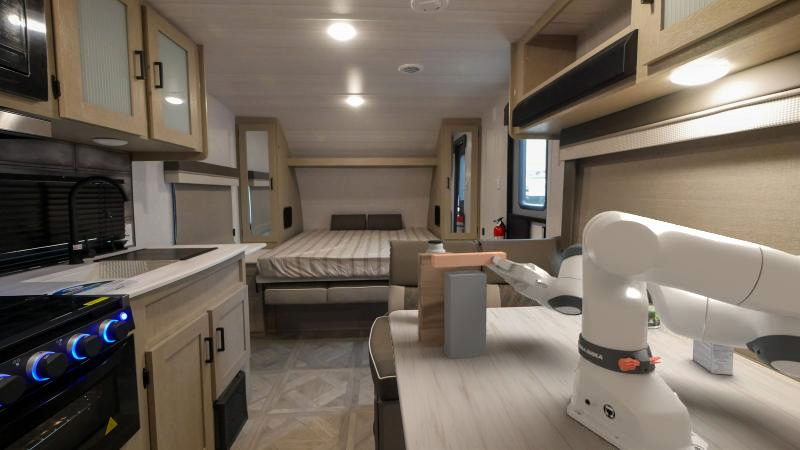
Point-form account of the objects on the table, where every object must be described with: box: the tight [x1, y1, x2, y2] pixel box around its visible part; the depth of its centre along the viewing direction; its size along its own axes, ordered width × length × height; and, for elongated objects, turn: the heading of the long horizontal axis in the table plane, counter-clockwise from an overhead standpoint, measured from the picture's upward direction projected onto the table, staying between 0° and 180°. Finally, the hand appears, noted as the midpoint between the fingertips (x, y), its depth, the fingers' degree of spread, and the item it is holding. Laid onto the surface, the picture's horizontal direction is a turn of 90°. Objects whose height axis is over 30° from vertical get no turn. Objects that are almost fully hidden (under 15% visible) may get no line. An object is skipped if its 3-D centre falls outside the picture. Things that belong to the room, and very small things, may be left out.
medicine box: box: [692, 332, 735, 376], centre depth 89 cm, size 8×4×9 cm, turn 168°
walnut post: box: [417, 251, 458, 348], centre depth 105 cm, size 5×10×26 cm, turn 102°
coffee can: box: [646, 288, 661, 330], centre depth 120 cm, size 10×10×14 cm
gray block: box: [443, 270, 488, 360], centre depth 97 cm, size 5×10×22 cm, turn 102°
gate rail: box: [431, 251, 507, 268], centre depth 97 cm, size 3×20×3 cm, turn 102°
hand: (488, 256), depth 98 cm, fingers closed on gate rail, 3 cm apart
